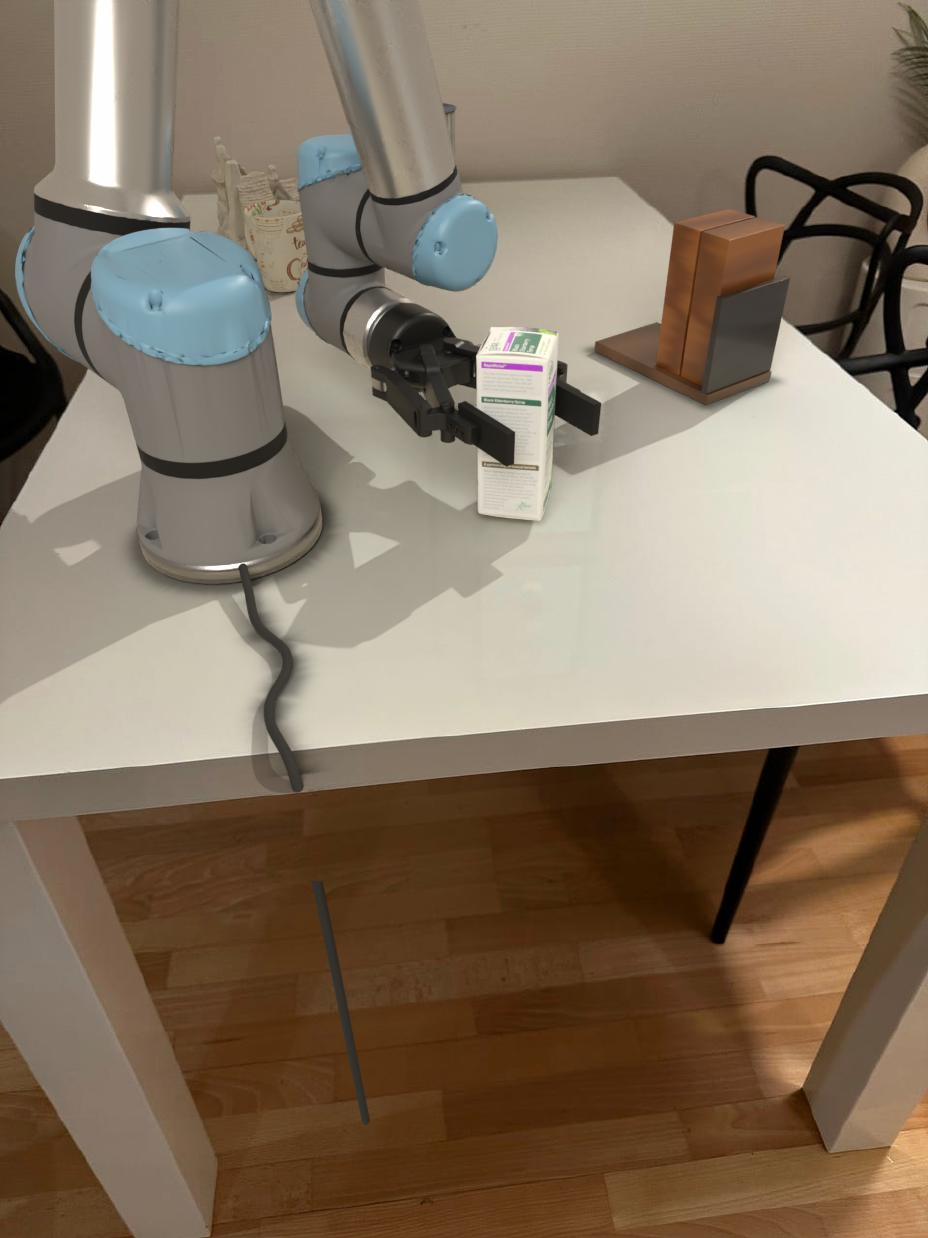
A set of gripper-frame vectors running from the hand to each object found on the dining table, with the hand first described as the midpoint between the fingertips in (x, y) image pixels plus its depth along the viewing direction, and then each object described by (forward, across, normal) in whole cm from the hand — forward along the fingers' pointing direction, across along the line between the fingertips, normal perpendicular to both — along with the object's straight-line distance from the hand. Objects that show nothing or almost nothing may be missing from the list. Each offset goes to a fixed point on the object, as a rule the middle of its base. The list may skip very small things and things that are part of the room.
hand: (554, 433), depth 70 cm
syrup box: (-5, 0, -9) cm, 10 cm away
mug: (-72, -9, -10) cm, 73 cm away
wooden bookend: (-18, -34, -9) cm, 40 cm away
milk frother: (-88, -46, -9) cm, 99 cm away
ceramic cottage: (-89, -16, -9) cm, 91 cm away
